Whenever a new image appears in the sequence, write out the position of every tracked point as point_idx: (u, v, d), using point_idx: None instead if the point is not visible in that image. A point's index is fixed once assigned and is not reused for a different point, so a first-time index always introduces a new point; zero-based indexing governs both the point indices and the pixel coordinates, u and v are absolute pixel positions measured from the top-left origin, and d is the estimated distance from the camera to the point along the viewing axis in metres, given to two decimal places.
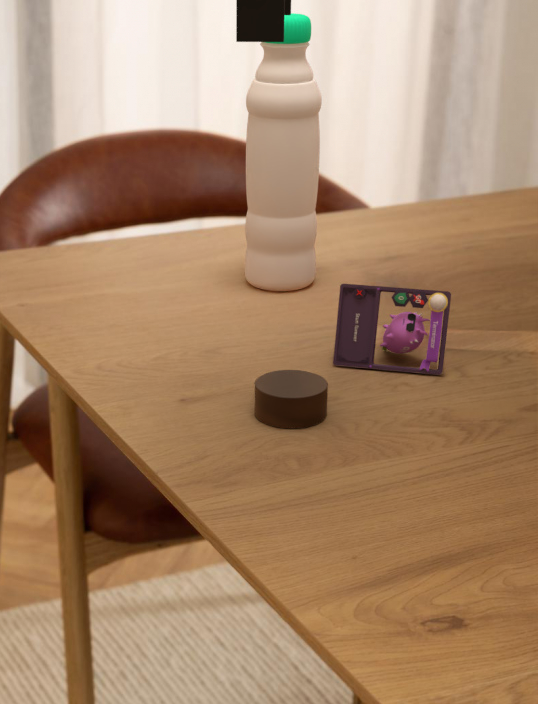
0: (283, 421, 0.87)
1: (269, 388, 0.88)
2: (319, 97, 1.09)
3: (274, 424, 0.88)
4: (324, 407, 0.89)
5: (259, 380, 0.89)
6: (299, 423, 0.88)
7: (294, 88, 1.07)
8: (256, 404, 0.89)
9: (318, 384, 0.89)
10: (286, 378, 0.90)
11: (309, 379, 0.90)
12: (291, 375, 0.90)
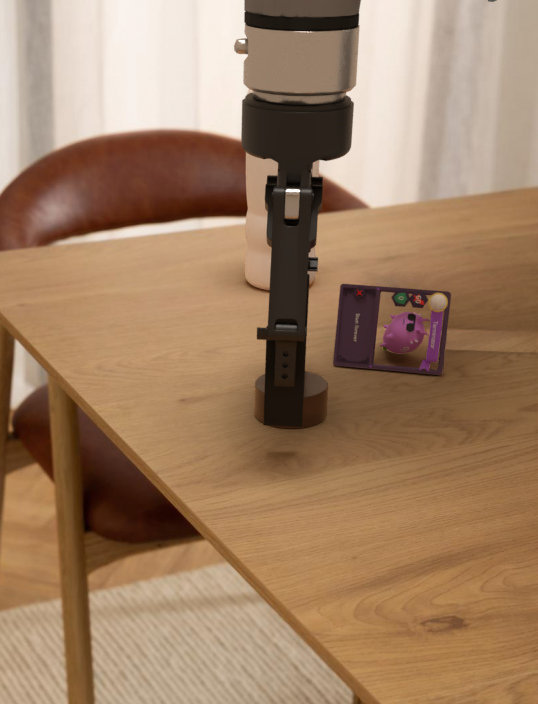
0: None
1: None
2: None
3: None
4: (324, 407, 0.89)
5: (259, 380, 0.89)
6: None
7: None
8: (256, 404, 0.89)
9: (318, 384, 0.89)
10: None
11: (309, 379, 0.90)
12: None
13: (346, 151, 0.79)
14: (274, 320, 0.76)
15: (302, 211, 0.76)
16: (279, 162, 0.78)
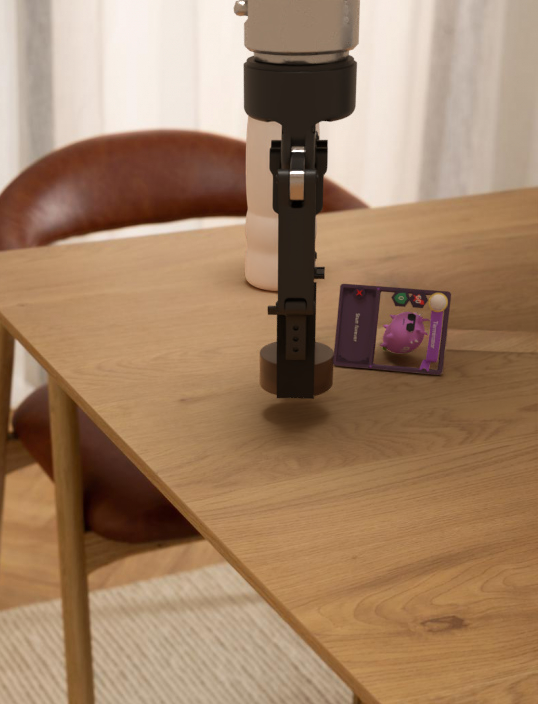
0: None
1: (274, 357, 0.87)
2: None
3: None
4: (330, 376, 0.87)
5: (264, 350, 0.88)
6: None
7: None
8: (261, 374, 0.88)
9: (324, 353, 0.88)
10: None
11: (315, 348, 0.88)
12: None
13: (350, 111, 0.78)
14: (283, 299, 0.79)
15: (307, 195, 0.76)
16: (283, 124, 0.77)
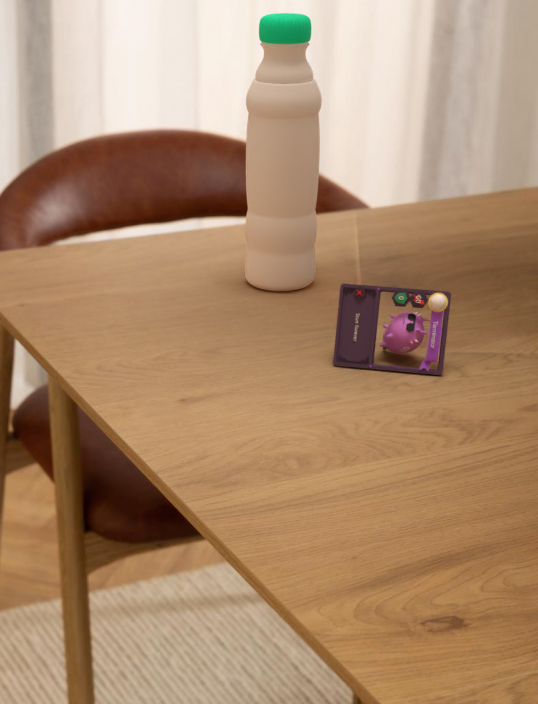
0: None
1: None
2: (319, 97, 1.09)
3: None
4: None
5: None
6: None
7: (294, 88, 1.07)
8: None
9: None
10: None
11: None
12: None
13: None
14: None
15: None
16: None
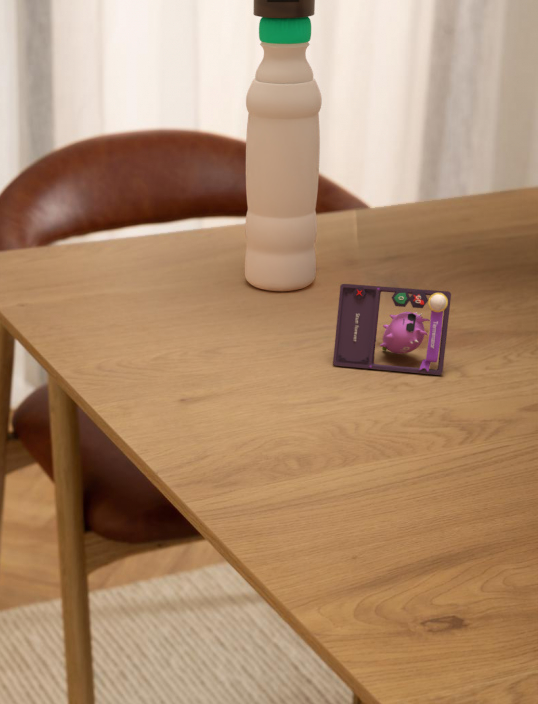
0: (278, 11, 1.04)
1: None
2: (319, 97, 1.09)
3: (269, 15, 1.05)
4: (312, 3, 1.05)
5: None
6: (291, 12, 1.04)
7: (294, 88, 1.07)
8: (255, 2, 1.06)
9: None
10: None
11: None
12: None
13: None
14: None
15: None
16: None
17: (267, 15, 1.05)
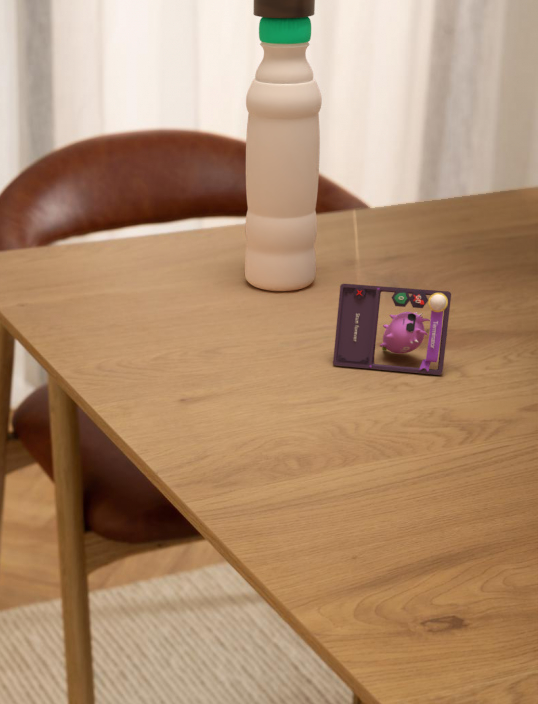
0: (278, 11, 1.04)
1: None
2: (319, 97, 1.09)
3: (269, 15, 1.05)
4: (312, 3, 1.05)
5: None
6: (291, 12, 1.04)
7: (294, 88, 1.07)
8: (255, 2, 1.06)
9: None
10: None
11: None
12: None
13: None
14: None
15: None
16: None
17: (267, 15, 1.05)
